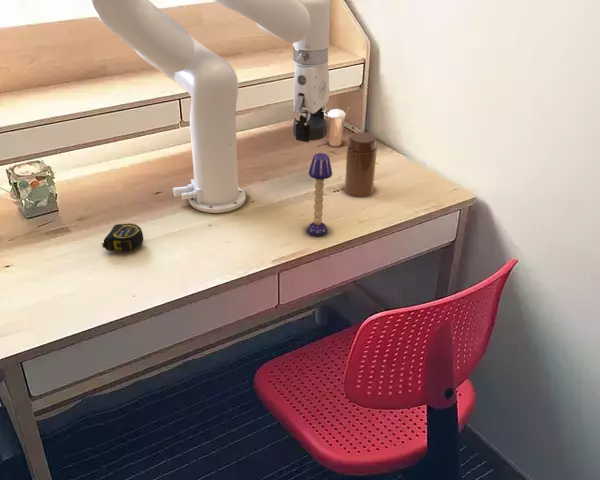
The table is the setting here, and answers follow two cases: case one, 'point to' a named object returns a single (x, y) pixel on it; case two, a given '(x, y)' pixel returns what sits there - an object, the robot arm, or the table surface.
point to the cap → (315, 128)
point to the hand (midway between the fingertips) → (310, 133)
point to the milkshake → (336, 126)
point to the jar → (360, 164)
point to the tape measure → (123, 238)
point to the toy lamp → (319, 191)
